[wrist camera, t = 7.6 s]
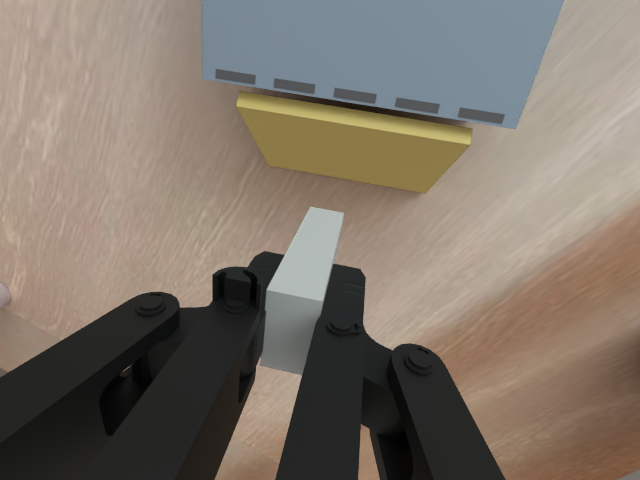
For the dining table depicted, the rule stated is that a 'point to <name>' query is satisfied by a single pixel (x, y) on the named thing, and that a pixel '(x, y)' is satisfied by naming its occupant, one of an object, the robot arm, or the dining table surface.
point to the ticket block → (385, 52)
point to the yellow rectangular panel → (352, 142)
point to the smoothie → (4, 295)
